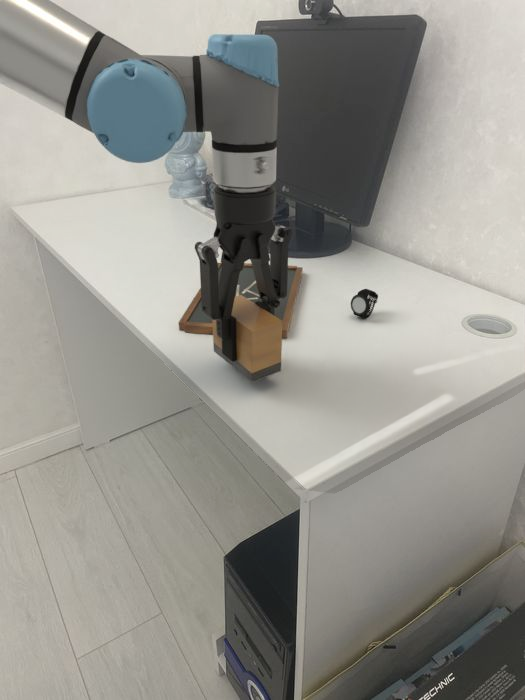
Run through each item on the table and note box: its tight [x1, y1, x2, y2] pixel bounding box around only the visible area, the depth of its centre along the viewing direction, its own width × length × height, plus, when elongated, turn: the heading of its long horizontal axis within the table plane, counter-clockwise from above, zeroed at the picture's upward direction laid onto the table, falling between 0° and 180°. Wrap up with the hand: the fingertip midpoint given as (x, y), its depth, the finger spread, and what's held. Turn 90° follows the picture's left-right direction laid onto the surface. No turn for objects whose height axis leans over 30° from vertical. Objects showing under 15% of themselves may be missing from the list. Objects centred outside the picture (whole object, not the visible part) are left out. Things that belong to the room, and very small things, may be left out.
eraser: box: [212, 295, 283, 383], centre depth 73 cm, size 10×5×8 cm, turn 35°
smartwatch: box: [350, 288, 379, 319], centre depth 90 cm, size 4×5×5 cm
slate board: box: [178, 262, 304, 339], centre depth 98 cm, size 18×28×2 cm, turn 171°
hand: (246, 350), depth 74 cm, fingers closed on eraser, 5 cm apart
